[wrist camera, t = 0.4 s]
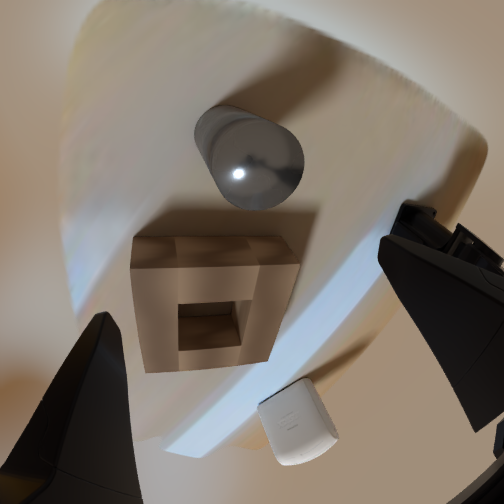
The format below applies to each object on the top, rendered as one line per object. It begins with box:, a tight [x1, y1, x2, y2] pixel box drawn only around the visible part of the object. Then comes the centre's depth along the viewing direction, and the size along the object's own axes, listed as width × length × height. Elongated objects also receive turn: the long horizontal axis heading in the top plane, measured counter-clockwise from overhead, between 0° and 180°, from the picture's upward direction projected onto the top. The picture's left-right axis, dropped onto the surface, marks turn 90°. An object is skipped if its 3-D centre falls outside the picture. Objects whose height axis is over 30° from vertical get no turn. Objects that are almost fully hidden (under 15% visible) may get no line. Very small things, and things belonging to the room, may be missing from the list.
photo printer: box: [257, 378, 339, 465], centre depth 37 cm, size 10×4×12 cm, turn 128°
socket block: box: [130, 236, 301, 373], centre depth 24 cm, size 12×12×4 cm
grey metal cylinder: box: [194, 105, 304, 211], centre depth 15 cm, size 4×4×8 cm
